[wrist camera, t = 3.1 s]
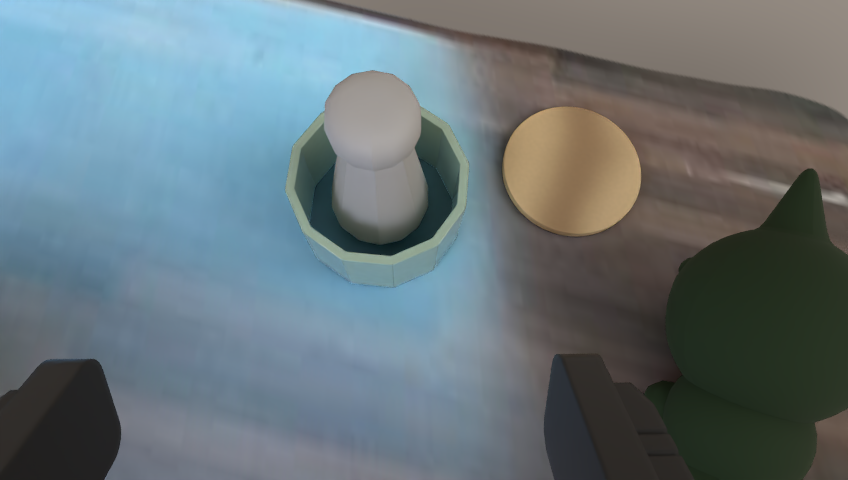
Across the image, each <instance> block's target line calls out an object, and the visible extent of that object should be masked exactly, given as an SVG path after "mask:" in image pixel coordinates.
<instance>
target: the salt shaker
mask: <svg viewBox="0 0 848 480" xmlns="http://www.w3.org/2000/svg"><path fill="white" fill-rule="evenodd" d="M324 130H325V133H326V135H327V137H328V139H329V141H330V144H331V146H332V148H333V150H334V152H335V154H336V155H337V159H336V165H335V171H334V177H333V183H332V208H333V211H334V213H335V215H336V217H337V219H338V222H339V224H340V226H341V227H342V228H343V229H345V230H346V231H347V232H349V233H350V234H351V235H353V236H354V237H355V238H357V239H358V240H359V241H364V242H368V243H373V244H377V245H383V244H387V243H392V242H396V241H401V240H402V239H404V238H405V237H406V236H408V235H409V234H410V233H412V232H413V231H414V230H416V229H417V228H418V227H419V225H420V223H421V221H422V219H423V216H424V214H425V212H426V210H427V208H428V185H427V182H426V179H425V176H424V173H423V170H422V168H421V165H420V162H419V159H418V156H417V153H416V150H415V148H414V147H415V145H416V143H417V141H418V139H419V138H420V134H421V108H420V104H419V102H418V100H417V98H416V97H415V95H414V93H413V91H412V90H411V88H410V86H409V85H407V84H406V83H404V82H403V81H402V80H400V79H399V78H398V77H396V76H395V75H393V74H389V73H384V72H379V71H374V70H372V71H366V72H361V73H355V74H351V75H350V76H349V77H347V78H346V79H344V80H343V81H341V82H340V83H338V84H337V85H335V87H334V89H333V90H332V92H331V94H330V95H329V97H328V99H327V100H326V102H325V115H324Z"/></svg>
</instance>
